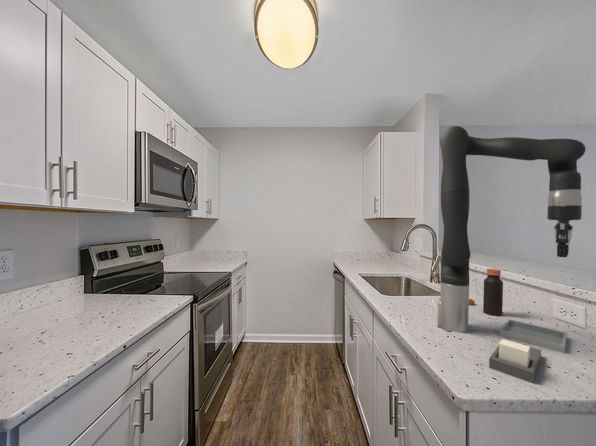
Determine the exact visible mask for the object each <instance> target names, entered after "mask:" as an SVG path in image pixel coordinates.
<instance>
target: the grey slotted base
mask: <svg viewBox="0 0 596 446" xmlns="http://www.w3.org/2000/svg"><path fill="white" fill-rule="evenodd" d="M529 347H530V368H527V367H524V366H521V365H518V364H515V363H512V362H509V361H506V360H503V359H500V358H499V345H497V347H496V348H495V350H494V351H493V352H492V354H491V356H490V357H489V361H488V363H489V364H488V368H490V369H491V370H495V371H498V372H501V373H503V374H505V375H508V376H512V377H515V378H517V379H520V380H523V381H525V382H526V381H527V382H528V383H531V384H534V381H535V378H536V376H537V372H538V370H539V366H540V363H541V358H542V350H541V349H538V348H536V347H531V346H529Z"/></svg>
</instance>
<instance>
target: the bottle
mask: <svg viewBox="0 0 596 446" xmlns="http://www.w3.org/2000/svg"><path fill="white" fill-rule="evenodd" d="M501 272H502V271H501V269H496V268H486V275H487V277H485V278H484V280H483V302H482V303H483V305H482V306H483V309H482V312H483V314H485V315H489V316H492V317H503V306H504V305H503V301H504V298H503V296H504V282H503V280H502V279H501Z"/></svg>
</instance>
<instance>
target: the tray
mask: <svg viewBox="0 0 596 446" xmlns="http://www.w3.org/2000/svg"><path fill="white" fill-rule="evenodd" d="M498 333H499V334H498V336H501V337H503V338H507V339H511V340H514V341H519V342H522V343H525V344H530V345H533V346H537V347H539V348H544V349H548V350H550V351H551V350H552V351H555V352H559V353H562V354H565V352H566V345H567V340H568V339H567V338H568V332H565V331H560V330H557V329H552V328H547V327H544V326H540V325H534V324H531V323H526V322H523V321H522V322H521V321H517V320H514V319H511V318H510V319H507V320H506V321H505V323H504V324H503V325H502V326H501V328H500V329H499V332H498Z"/></svg>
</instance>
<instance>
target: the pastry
mask: <svg viewBox="0 0 596 446" xmlns="http://www.w3.org/2000/svg"><path fill="white" fill-rule="evenodd" d="M475 303H476V302H475V300H474V299H473V298H469V306H474V305H476V304H475Z"/></svg>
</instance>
